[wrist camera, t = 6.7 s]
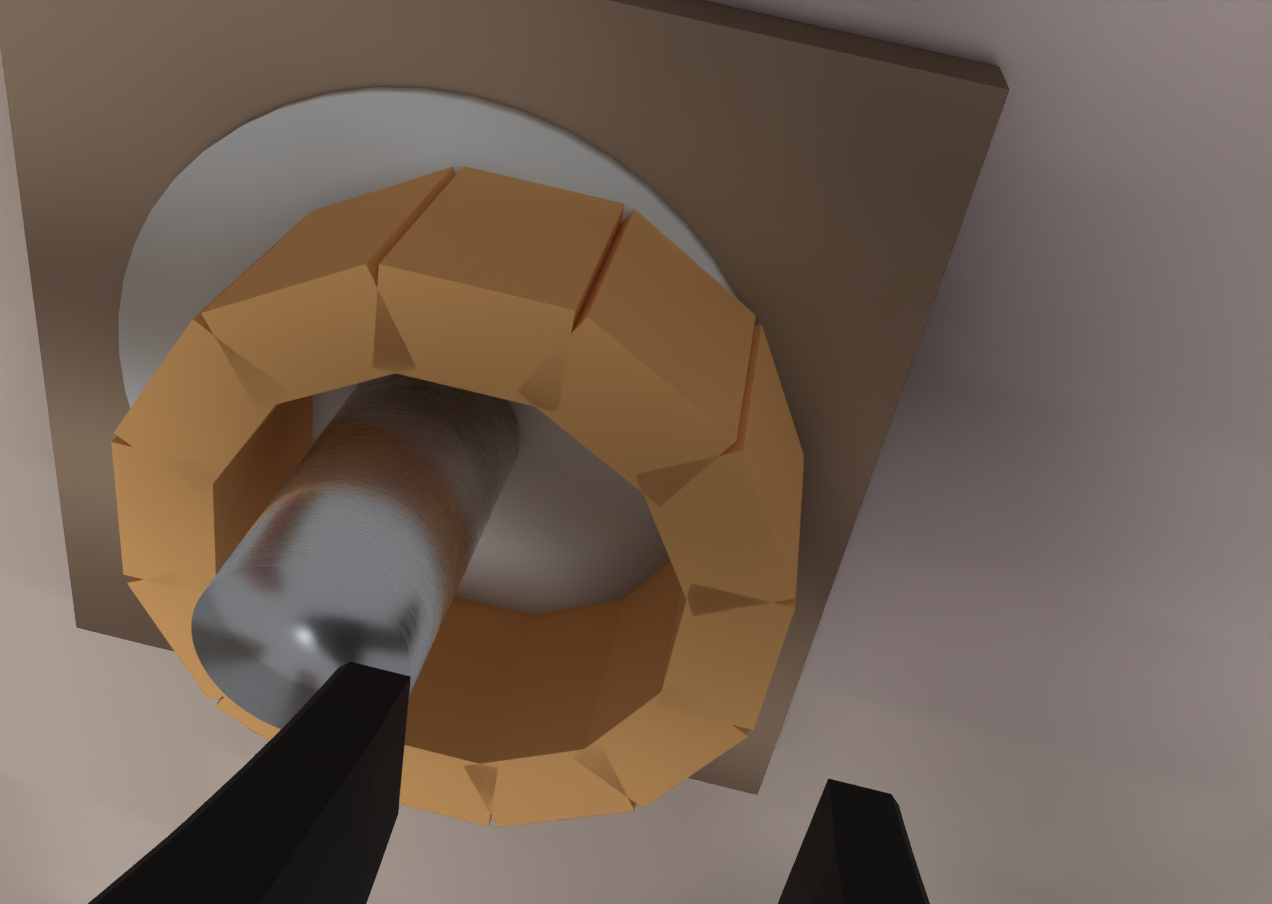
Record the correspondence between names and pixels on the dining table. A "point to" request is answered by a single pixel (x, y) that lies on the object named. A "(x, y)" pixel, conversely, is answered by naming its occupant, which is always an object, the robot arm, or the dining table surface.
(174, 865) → the robot arm
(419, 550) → the steel shaft
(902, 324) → the walnut base plate
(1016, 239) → the dining table surface
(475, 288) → the wooden ring
